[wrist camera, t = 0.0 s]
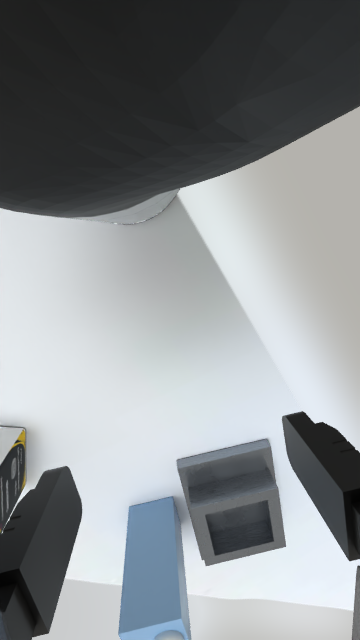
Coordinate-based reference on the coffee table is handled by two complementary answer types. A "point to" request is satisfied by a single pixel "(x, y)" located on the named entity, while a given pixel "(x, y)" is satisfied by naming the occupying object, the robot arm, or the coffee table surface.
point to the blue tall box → (154, 575)
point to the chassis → (233, 501)
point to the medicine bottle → (11, 470)
